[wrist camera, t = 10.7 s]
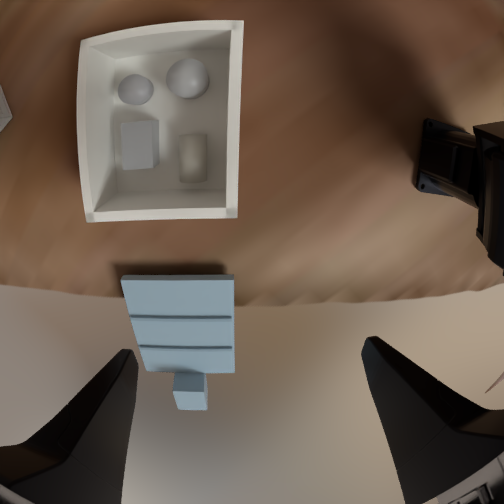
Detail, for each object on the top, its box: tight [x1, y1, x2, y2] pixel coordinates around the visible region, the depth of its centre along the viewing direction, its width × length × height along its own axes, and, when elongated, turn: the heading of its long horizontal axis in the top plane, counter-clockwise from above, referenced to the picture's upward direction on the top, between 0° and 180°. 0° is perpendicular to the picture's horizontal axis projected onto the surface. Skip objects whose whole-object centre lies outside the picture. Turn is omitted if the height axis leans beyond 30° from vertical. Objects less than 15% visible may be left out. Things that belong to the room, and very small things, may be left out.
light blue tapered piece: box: [121, 275, 235, 410], centre depth 24 cm, size 14×9×4 cm, turn 178°
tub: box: [77, 20, 244, 222], centre depth 15 cm, size 11×9×5 cm
